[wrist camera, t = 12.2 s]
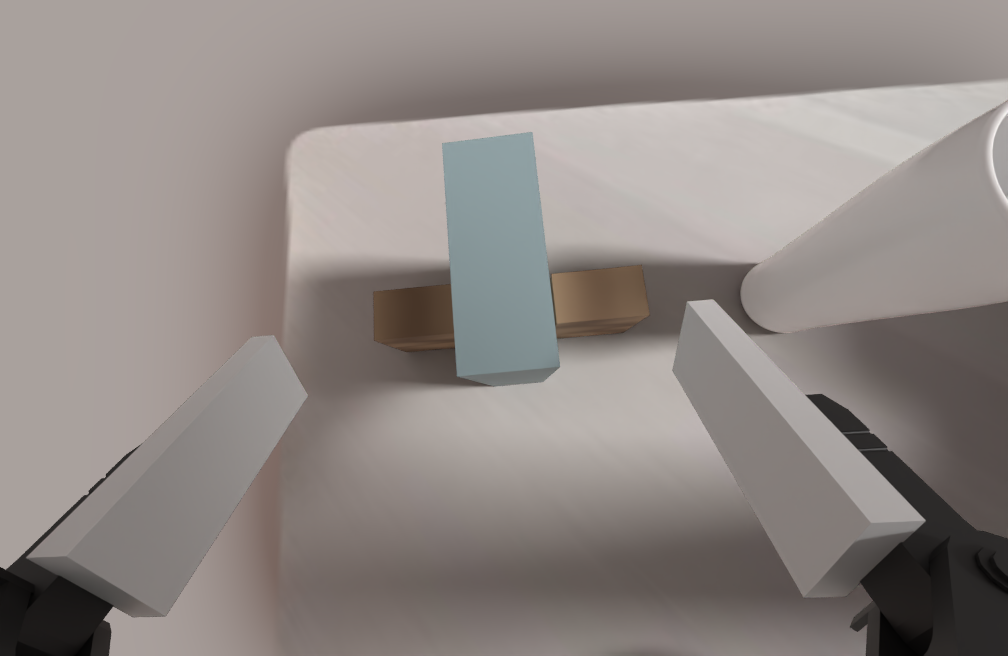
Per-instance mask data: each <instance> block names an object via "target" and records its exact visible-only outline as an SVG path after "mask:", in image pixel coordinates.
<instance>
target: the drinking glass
mask: <svg viewBox="0 0 1008 656" xmlns="http://www.w3.org/2000/svg"><path fill="white" fill-rule="evenodd" d="M740 297H741V302H742V305H743V308H744V310H745V312H746V313H747V315H748V316H749V317H750V318H751V319H752V320H753V321H754V322H755V323H756V324H758V325H759V326H761V327H763V328H765V329H767V330H770V331H773V332H778V333H793V332H799V331H803V330H807V329H812V328H818V327H825V326H833V325H840V324H848V323H855V322H863V321H871V320H879V319H887V318H895V317H903V316H911V315H919V314H927V313H935V312H942V311H950V310H957V309H965V308H971V307H978V306H984V305H990V304H996V303H1002V302H1008V100H1007V101H1005V102H1003V103H1002V104H1000V105H998V106H996V107H995V108H993V109H991V110H989V111H987V112H986V113H984V114H982V115H980V116H979V117H977V118H975V119H973V120H972V121H970V122H968V123H966V124H965V125H963V126H961V127H960V128H958V129H956V130H954V131H953V132H951V133H949V134H948V135H946V136H944V137H943V138H941V139H939V140H938V141H936V142H934V143H933V144H931V145H930V146H928V147H926V148H925V149H923V150H921V151H920V152H918V153H917V154H915V155H914V156H912V157H910V158H909V159H907V160H906V161H904V162H903V163H901V164H900V165H898V166H897V167H895V168H894V169H892V170H890V171H889V172H888V173H886V174H885V175H883V176H882V177H880V178H879V179H877V180H876V181H875V182H873V183H872V184H870V185H869V186H868V187H866V188H865V189H863V190H862V191H861V192H859V193H858V194H857V195H855V196H854V197H853V198H851V199H850V200H848V201H847V202H846V203H844V204H843V205H842V206H840V207H839V208H838V209H836V210H835V211H833V212H832V213H831V214H829V215H828V216H827V217H825V218H824V219H823V220H821V221H820V222H818V223H817V224H816V225H814V226H813V227H812V228H810V229H809V230H807V231H806V232H805V233H803V234H802V235H801V236H799V237H798V238H796V239H795V240H794V241H792V242H791V243H789V244H788V245H787V246H785V247H784V248H783V249H781V250H780V251H778V252H777V253H775V254H774V255H773V256H771V257H770V258H768V259H766V260H764V261H762V262H761V263H759V264H758V265H756V266H755V267H753V268H752V269H751V270H750V271H749V272H748V273H747V275H746V276H745V278H744V280H743V282H742V285H741V290H740Z"/></svg>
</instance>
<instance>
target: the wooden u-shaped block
mask: <svg viewBox="0 0 1008 656" xmlns="http://www.w3.org/2000/svg"><path fill="white" fill-rule="evenodd" d="M550 286H551V294H552V303H553V311H554V320H555V328H556V337H557V339H558V338H569V337H580V336H591V335H602V334H613V333H623V332H625V331H626V330H628V329H629V328H631V327H632V326H634V325H635V324H637V323H638V322H640V321H641V320H643V319H645V318H646V317H648V316H649V315H650V313H649V307H648V301H647V295H646V289H645V283H644V277H643V270H642V265H637V266H627V267H617V268H607V269H597V270H586V271H576V272H566V273H556V274H551V279H550ZM374 341H377V342H380V343H382V344H385V345H388V346H391V347H394V348H396V349H399V350H402V351H405V352H414V351H425V350H436V349H447V348H455V339H454V323H453V307H452V291H451V284H446V285H436V286H426V287H416V288H405V289H395V290H385V291H375V292H374Z"/></svg>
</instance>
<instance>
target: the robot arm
mask: <svg viewBox="0 0 1008 656" xmlns="http://www.w3.org/2000/svg"><path fill="white" fill-rule="evenodd" d="M672 371H673V372H674V374H675V376H676V378H677V379H678V381H679V383H680V384H681V386H682V388H683V390H684V391H685V393H686V395H687V397H688V398H689V400H690V402H691V404H692V405H693V407H694V409H695V410H696V412H697V414H698V416H699V417H700V419H701V421H702V423H703V424H704V426H705V428H706V429H707V431H708V433H709V435H710V436H711V438H712V440H713V442H714V443H715V445H716V447H717V449H718V450H719V452H720V454H721V455H722V457H723V459H724V461H725V462H726V464H727V466H728V468H729V469H730V471H731V473H732V474H733V476H734V478H735V480H736V481H737V483H738V485H739V487H740V488H741V490H742V492H743V494H744V495H745V497H746V499H747V500H748V502H749V504H750V506H751V507H752V509H753V511H754V513H755V514H756V516H757V518H758V519H759V521H760V523H761V525H762V526H763V528H764V530H765V532H766V533H767V535H768V537H769V539H770V540H771V542H772V544H773V545H774V547H775V549H776V551H777V552H778V554H779V556H780V558H781V559H782V561H783V563H784V564H785V566H786V568H787V570H788V571H789V573H790V575H791V577H792V578H793V580H794V582H795V584H796V585H797V587H798V589H799V590H800V592H801V594H802V596H803V597H804V598H818V597H846V596H847V595H848V594H849V593H850V592H851V591H852V590H854V589H855V588H856V587H857V586H858V585H859V584H860V583H861V584H862V585H863V587H864V588H865V590H866V591H867V592H868V594H869V595H870V597H871V598H872V599H873V602H872V603H870V604H869V605H868V606H867V607H866V608H864V609H863V610H862V611H861V612H860V613H859V614H857V615H856V616H855V617H854V618H853V621H852V623H851V626H850V628H852V629H854V630H855V631H857V632H858V631H859V630H861V629H862V628H863V627H864V626H866V625H867V624H868V625H867V644H866V656H1008V539H1007V538H1004V537H1000V536H997V535H994V534H991V533H988V532H984V531H977V530H976V529H974V528H973V527H972V526H971V525H970V524H969V523H967V522H966V521H965V520H964V519H963V518H962V517H961V516H960V515H958V514H957V513H956V512H955V511H954V510H953V509H952V508H951V507H950V506H949V505H948V504H947V503H946V502H945V501H944V500H943V499H942V498H941V497H940V496H938V495H937V494H936V493H935V492H934V491H933V490H932V489H931V488H930V487H929V486H928V485H927V484H926V483H925V482H924V481H923V480H922V479H921V478H920V477H919V476H917V475H916V474H915V473H914V472H913V471H912V470H911V469H910V468H909V467H908V466H907V465H906V464H905V463H904V462H903V461H902V460H901V459H900V458H899V457H897V456H896V455H895V454H894V453H893V452H892V451H888V450H887V446H886V445H885V444H884V443H883V442H882V441H881V440H880V439H879V438H878V437H876V436H875V435H874V434H870V432H869V429H868V428H867V427H866V426H865V425H864V424H863V423H862V422H861V421H860V420H859V419H858V418H856V417H855V416H854V415H853V414H852V413H851V412H850V411H849V410H848V409H846V408H844V407H843V406H841V405H839V404H838V403H836V402H834V401H833V400H831V399H829V398H828V397H826V396H824V395H823V394H814V395H805V394H804V393H803V392H802V391H801V390H800V389H799V388H798V387H797V386H796V385H795V384H794V383H793V382H792V381H791V380H790V379H789V378H788V377H787V376H786V375H785V374H784V373H783V371H782V370H781V369H780V368H779V367H778V366H777V365H776V364H775V363H774V362H773V361H772V360H771V359H770V358H769V357H768V356H767V355H766V354H765V353H764V352H763V351H762V350H761V349H760V348H759V347H758V345H757V344H756V343H755V342H754V341H753V340H752V339H751V338H750V337H749V336H748V335H747V334H746V333H745V332H744V331H743V330H742V329H741V328H740V327H739V326H738V325H737V324H736V323H735V322H734V321H733V319H732V318H731V317H730V316H729V315H728V314H727V313H726V312H725V311H724V310H723V309H722V308H721V307H720V306H719V305H718V304H717V303H716V302H715V301H714V300H713V299H711V300H699V301H687V304H686V309H685V313H684V318H683V323H682V328H681V332H680V337H679V342H678V347H677V351H676V356H675V361H674V366H673V370H672ZM307 397H308V395H307V393H306V391H305V390H304V388H303V386H302V384H301V382H300V381H299V379H298V377H297V375H296V374H295V372H294V370H293V368H292V366H291V365H290V363H289V361H288V359H287V358H286V356H285V354H284V352H283V351H282V349H281V347H280V345H279V343H278V342H277V340H276V338H275V336H274V335H270V336H257V337H251V338H250V339H249V340H248V341H247V342H246V343H245V344H244V345H243V346H242V347H241V348H240V349H239V350H238V351H237V352H236V353H235V354H234V355H233V356H232V357H231V358H229V360H227V361H226V362H225V363H224V365H222V366H221V367H220V368H219V369H218V370H217V371H216V372H215V373H214V374H213V375H212V376H211V377H210V378H209V379H208V380H207V381H206V382H205V383H204V384H203V385H202V386H201V387H200V388H199V389H198V390H197V391H196V392H195V393H194V394H193V395H192V396H191V397H190V398H189V399H188V400H187V401H186V402H184V403H183V405H181V406H180V407H179V408H178V409H177V410H176V411H175V412H174V413H173V414H172V415H171V416H170V417H169V418H168V419H167V420H166V421H165V422H164V423H163V424H162V425H161V426H160V427H159V428H158V429H157V430H156V431H155V432H154V433H153V434H152V435H151V436H150V437H149V438H148V439H147V440H146V441H145V442H144V443H142V444H141V445H139V446H138V447H137V448H135V449H134V450H132V451H131V452H129V453H128V454H127V455H126V456H124V457H123V458H122V459H121V460H120V461H119V462H118V463H117V464H116V465H115V466H114V467H113V468H112V469H111V470H110V471H109V472H108V473H107V474H106V477H105V478H102V479H101V480H100V481H98V482H97V483H96V484H95V485H94V486H93V487H92V488H91V489H90V490H89V494H88V495H84V496H83V497H82V498H81V499H80V500H79V501H78V502H77V503H76V504H75V505H74V506H73V507H71V509H70V510H68V511H67V512H66V513H65V514H64V515H63V516H62V517H61V518H60V519H59V520H58V521H57V522H56V523H55V524H54V525H53V526H52V527H51V528H50V529H49V530H48V531H47V532H46V533H45V534H44V535H42V537H40V538H39V539H38V540H37V541H36V542H35V543H34V544H33V545H32V546H31V547H30V548H29V549H28V550H27V551H26V552H25V553H24V554H23V555H22V556H21V557H20V558H19V559H18V560H17V561H15V562H14V563H13V564H12V565H11V566H10V567H9V568H7V569H6V570H5V569H3V568H1V567H0V656H109V649H110V639H111V628H110V623H108V622H106V621H104V620H103V619H104V618H105V616H106V615H107V614H108V613H109V611H110V610H111V609H112V607H115V608H117V609H119V610H121V611H122V612H124V613H126V614H128V615H130V616H131V617H161V616H166V615H167V614H168V612H169V611H170V609H171V607H172V606H173V604H174V603H175V601H176V600H177V598H178V597H179V595H180V594H181V592H182V590H183V589H184V587H185V586H186V584H187V583H188V581H189V580H190V578H191V577H192V575H193V573H194V572H195V570H196V569H197V567H198V566H199V564H200V562H201V561H202V559H203V558H204V556H205V555H206V553H207V552H208V550H209V548H210V547H211V546H212V544H213V542H214V541H215V539H216V538H217V536H218V535H219V533H220V532H221V530H222V528H223V527H224V525H225V524H226V522H227V520H228V519H229V518H230V516H231V514H232V513H233V511H234V510H235V508H236V507H237V505H238V504H239V502H240V501H241V499H242V497H243V496H244V494H245V493H246V491H247V490H248V488H249V487H250V485H251V484H252V482H253V480H254V479H255V477H256V476H257V474H258V473H259V471H260V470H261V468H262V466H263V465H264V463H265V462H266V460H267V459H268V457H269V456H270V454H271V452H272V451H273V449H274V448H275V446H276V444H277V443H278V442H279V440H280V439H281V437H282V435H283V434H284V432H285V431H286V429H287V428H288V426H289V425H290V423H291V422H292V420H293V418H294V417H295V415H296V414H297V412H298V411H299V409H300V408H301V406H302V404H303V403H304V401H305V400H306V398H307Z"/></svg>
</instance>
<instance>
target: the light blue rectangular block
mask: <svg viewBox="0 0 1008 656" xmlns="http://www.w3.org/2000/svg"><path fill="white" fill-rule="evenodd" d="M442 149H443V165H444V181H445V196H446V212H447V228H448V244H449V260H450V275H451V291H452V307H453V323H454V339H455V354H456V370H457V377H461V378H464V379H468V380H472V381H476V382H479V383H483V384H487V385H491V386H505V385H516V384H527V383H538V382H544V381H545V380H546V379H547V378H548V377H549V376H550V375H551V374H553V373H554V372H555V371H556V370H557V369H558V368H559V367H560V362H559V354H558V345H557V337H556V328H555V320H554V311H553V303H552V294H551V286H550V278H549V269H548V261H547V252H546V244H545V235H544V227H543V218H542V210H541V201H540V193H539V185H538V176H537V168H536V159H535V151H534V142H533V134H532V132H529V133H521V134H513V135H505V136H497V137H489V138H481V139H473V140H465V141H457V142H449V143H442Z"/></svg>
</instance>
